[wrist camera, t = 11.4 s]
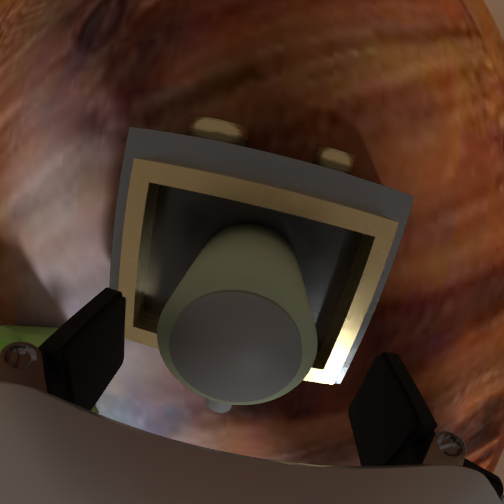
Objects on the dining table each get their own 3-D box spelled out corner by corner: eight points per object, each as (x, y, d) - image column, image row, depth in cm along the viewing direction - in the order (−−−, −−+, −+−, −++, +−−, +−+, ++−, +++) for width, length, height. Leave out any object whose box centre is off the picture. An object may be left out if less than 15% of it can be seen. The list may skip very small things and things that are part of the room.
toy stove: (387, 170, 20) (437, 179, 13) (328, 344, 24) (345, 403, 17) (162, 115, 19) (118, 100, 13) (134, 299, 23) (95, 347, 17)
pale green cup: (311, 237, 16) (343, 300, 9) (274, 353, 18) (276, 449, 11) (207, 212, 16) (162, 257, 9) (186, 332, 18) (148, 421, 11)
